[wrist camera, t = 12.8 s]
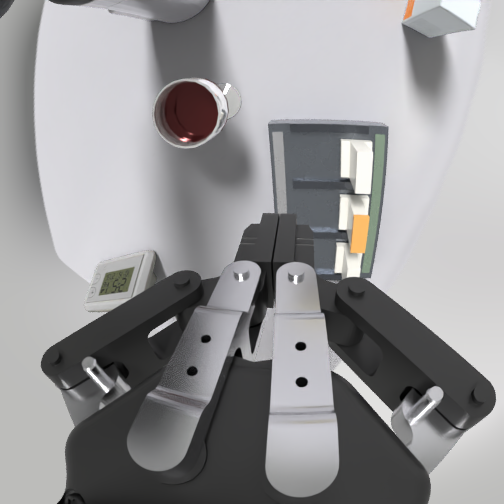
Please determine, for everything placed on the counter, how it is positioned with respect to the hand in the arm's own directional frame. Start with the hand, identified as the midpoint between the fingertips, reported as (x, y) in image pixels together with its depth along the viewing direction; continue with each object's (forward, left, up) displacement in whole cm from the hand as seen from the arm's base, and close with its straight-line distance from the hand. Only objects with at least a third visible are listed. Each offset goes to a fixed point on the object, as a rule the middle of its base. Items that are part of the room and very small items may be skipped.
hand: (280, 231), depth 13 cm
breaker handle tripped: (+7, -9, -22) cm, 24 cm away
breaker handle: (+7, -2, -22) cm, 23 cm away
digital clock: (-32, -22, -25) cm, 46 cm away
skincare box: (+17, +18, -25) cm, 35 cm away
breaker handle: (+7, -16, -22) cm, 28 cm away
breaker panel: (+4, -9, -25) cm, 27 cm away
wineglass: (-9, +5, -25) cm, 27 cm away
